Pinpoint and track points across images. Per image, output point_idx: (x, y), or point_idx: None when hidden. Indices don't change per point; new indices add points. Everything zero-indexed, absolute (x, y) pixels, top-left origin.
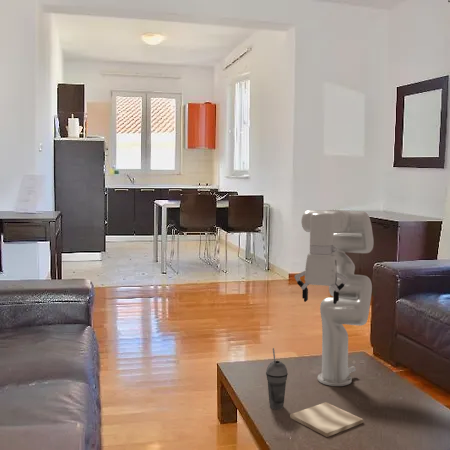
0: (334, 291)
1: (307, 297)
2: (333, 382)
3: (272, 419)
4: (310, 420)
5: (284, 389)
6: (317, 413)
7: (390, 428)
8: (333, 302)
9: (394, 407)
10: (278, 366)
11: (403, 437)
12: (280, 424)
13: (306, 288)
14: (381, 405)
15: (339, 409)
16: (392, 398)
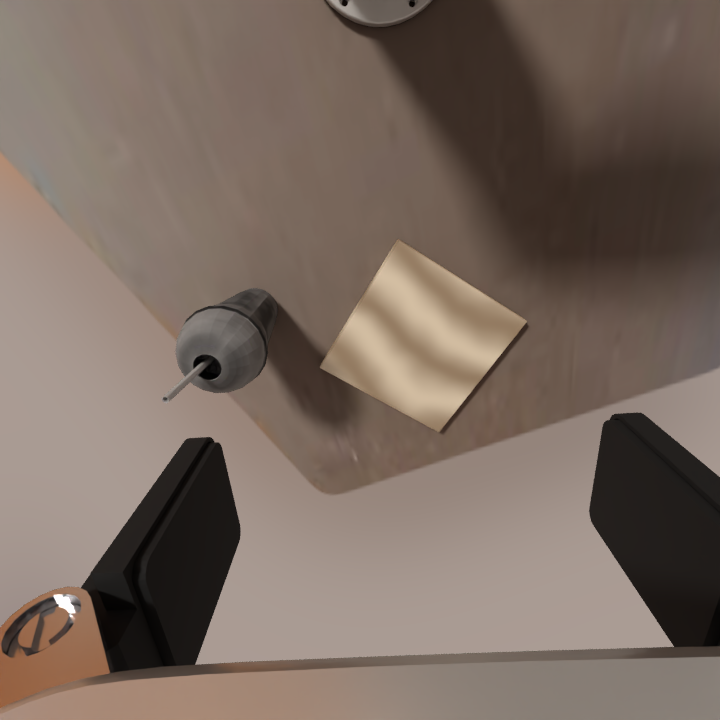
0: (717, 624)
1: (213, 486)
2: (388, 7)
3: (279, 388)
4: (383, 383)
5: (270, 333)
6: (391, 334)
7: (600, 322)
8: (596, 529)
9: (631, 155)
10: (229, 387)
11: (630, 360)
12: (309, 406)
13: (146, 664)
14: (585, 156)
15: (451, 281)
16: (635, 61)
